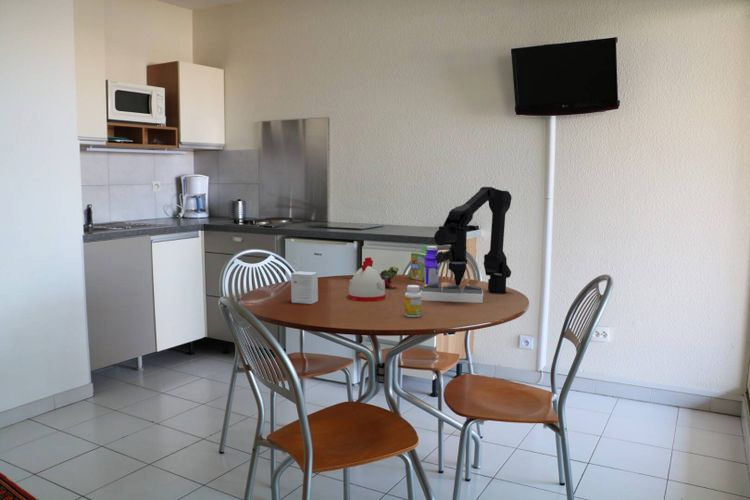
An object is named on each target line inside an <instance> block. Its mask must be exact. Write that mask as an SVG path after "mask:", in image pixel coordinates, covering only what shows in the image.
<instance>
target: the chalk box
mask: <svg viewBox="0 0 750 500" xmlns="http://www.w3.org/2000/svg"><path fill="white" fill-rule="evenodd" d="M427 246H428V245H422V248H421V252H411V253H410V272H409V273H410V275H409V277H410V278H409V279H411V280H415V281H419V282H424V274H425V267H424V265H425V260H426V259H425V256H426V253H427V250H426V251H425V249H427ZM439 270H440V269H439ZM439 270H438V276H440V275H439V274H440V272H439Z"/></svg>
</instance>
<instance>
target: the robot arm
mask: <svg viewBox="0 0 750 500" xmlns="http://www.w3.org/2000/svg"><path fill="white" fill-rule="evenodd" d="M487 202H488V208H489V209H490V211H491V213H492V214H491V215H492V216H491V228H490V229H491V230H490V243H489V251H488V253H486V254H484V256H483V259H484V261H483V263H482V264H483V266H484V267H483V268H484V272H485V276H489V278H488V279H487V291H488V292H489V293H495V294H506V293H507V279H509V278H510V277H511V275H512V270H511V269H510V267H509V265H508V262H507V259H508V258H507V256H506V254H505V252H504V239H505V228H506V227H505V225H506V223H505V222H506V214H507V213H508V211H509V209H511V208H510V207H511V203H512V194H511V192H510V191H508V190H501V189H498V188H495V187H493V186H482V187H480V188H479V190H478V191H477V192H476V193H475V194H474V195H472V196H471V197H469V199H467V201H465V203H464V204H461V205H458V206H455V207H454V208H452V209H450V211H449V212H448V215H447V217H446V219H445V221H444V223H443V225H440V226H438V229H437V231H435V233H434V236H433V238H434V243H436V245H437V246H440V247H441V246H442V247H444V246H450V247H449V249H448V250H446V251H442V250H441V251H437V254H436V255H435V259H436V262H437V264H439V265H440V264H441V263H444V262H447V261H448V262H449V263H448V264H447V269H448V271H451V272H452V273H453V276H454V277H453V278H454V281H455V282H454V284H456V285H459V286H460V285H461V282H462V280H463V277H464V276H465V274H466V270H467V265H468V258H467V248H468V247H467V243H468V241H467V240H468V239H467V236H468V234H467V233H468V232H470V231H471V228H470V227H469V226H468V225H469V224H470V223H471V222H472V220H473V219H474V214H475V213H476V212H477V211H478V210H479V209H480V208H481V207H482V206H483V205H485V204H486V203H487Z"/></svg>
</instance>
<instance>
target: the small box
mask: <svg viewBox="0 0 750 500" xmlns="http://www.w3.org/2000/svg"><path fill="white" fill-rule="evenodd" d="M318 274H319V273H318V271H317V272H316V271H299V270H298V271H294V272H291V274H290V285H291V286H290V290H291V292H290V295H291V296H290V297H291V303H293V304H303V305H304V304H306V305H313V304H314V303H315V304H316V303H317V302H318V301H319V287H318V286H319V284H318V283H319V282H318V281H319V280H318V278H319V277H318Z"/></svg>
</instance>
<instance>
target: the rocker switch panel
mask: <svg viewBox="0 0 750 500" xmlns="http://www.w3.org/2000/svg"><path fill="white" fill-rule="evenodd" d="M424 286H425V285H424V284H423V285H422V286H421V289H420V290H419V292H420V293H421V296H422V298H421V301H429V302H430V301H433V302H449V303H450V302H455V303H472V304H473V303H475V304H483V303H484V290H483V287H480V290H469V289H465V286H463V287H462V286H459V289H445V288H444V287H445V286H446V285H439V287H438V288H424Z"/></svg>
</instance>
